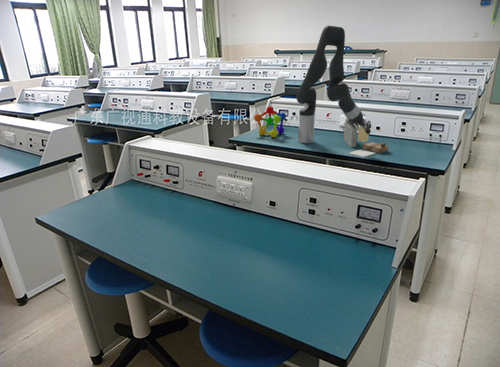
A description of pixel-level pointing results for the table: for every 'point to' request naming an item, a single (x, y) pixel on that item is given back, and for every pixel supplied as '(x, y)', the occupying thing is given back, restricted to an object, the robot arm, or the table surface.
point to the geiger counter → (350, 134)
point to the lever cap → (362, 135)
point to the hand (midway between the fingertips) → (365, 132)
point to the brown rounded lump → (375, 147)
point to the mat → (361, 153)
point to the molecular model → (271, 122)
